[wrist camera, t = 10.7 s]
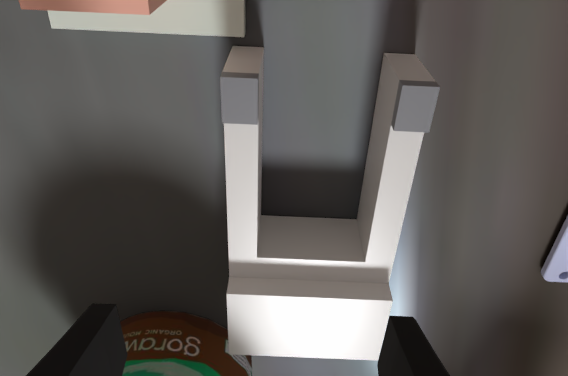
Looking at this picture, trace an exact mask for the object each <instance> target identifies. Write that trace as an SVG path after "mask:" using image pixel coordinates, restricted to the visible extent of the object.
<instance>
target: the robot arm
mask: <svg viewBox="0 0 568 376" xmlns="http://www.w3.org/2000/svg"><path fill="white" fill-rule="evenodd" d="M541 274H542V276H543V278H544V279H545V280H546V281H550V282H568V216H567V218H566V220H565V222H564V224H563V226H562V228H561V230H560V232H559V234H558V236H557V238H556V240H555V242H554V245H553V247H552V249H551V251H550V253H549V255H548V257H547V259H546V261H545V263H544V265H543V267H542V269H541ZM127 355H128V354H127V349H126V345H125V341H124V337H123V332H122V328H121V324H120V320H119V315H118V311H117V307H116V305H114V304H92V305H91V306H89V307H88V309H87V310H86V311H85V312H84V313H83V314H82V315H81V316H80V318H79V319H78V320H77V321H76V322H75V323H74V324H73V325H72V327H71V328H70V329H69V330H68V331H67V332H66V333H65V334H64V336H63V337H62V338H61V339H60V340H59V341H58V342H57V343H56V344H55V345H54V347H53V348H52V349H51V350H50V351H49V352H48V353H47V354H46V355H45V356H44V357H43V358H42V359H41V360H40V361H39V363H38V364H37V365H36V366H35V367H34V368H33V369H32V370H31V371H30V372H29V373H28V374H27V375H26V376H122V375H123V371H124V367H125V363H126V359H127ZM377 365H378V374H379V376H450V375H449V373H448V372H447V370H446V369H445V367H444V366H443V364H442V363H441V361H440V359H439V358H438V356H437V355H436V353H435V352H434V350H433V348H432V347H431V345H430V343H429V342H428V340H427V338H426V337H425V335H424V333H423V332H422V330H421V328H420V327H419V325H418V323H417V321H416V320H415V319H414V318H413V317H403V316H389V320H388V324H387V328H386V332H385V336H384V340H383V344H382V348H381V352H380V356H379V360H378V364H377Z"/></svg>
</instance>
